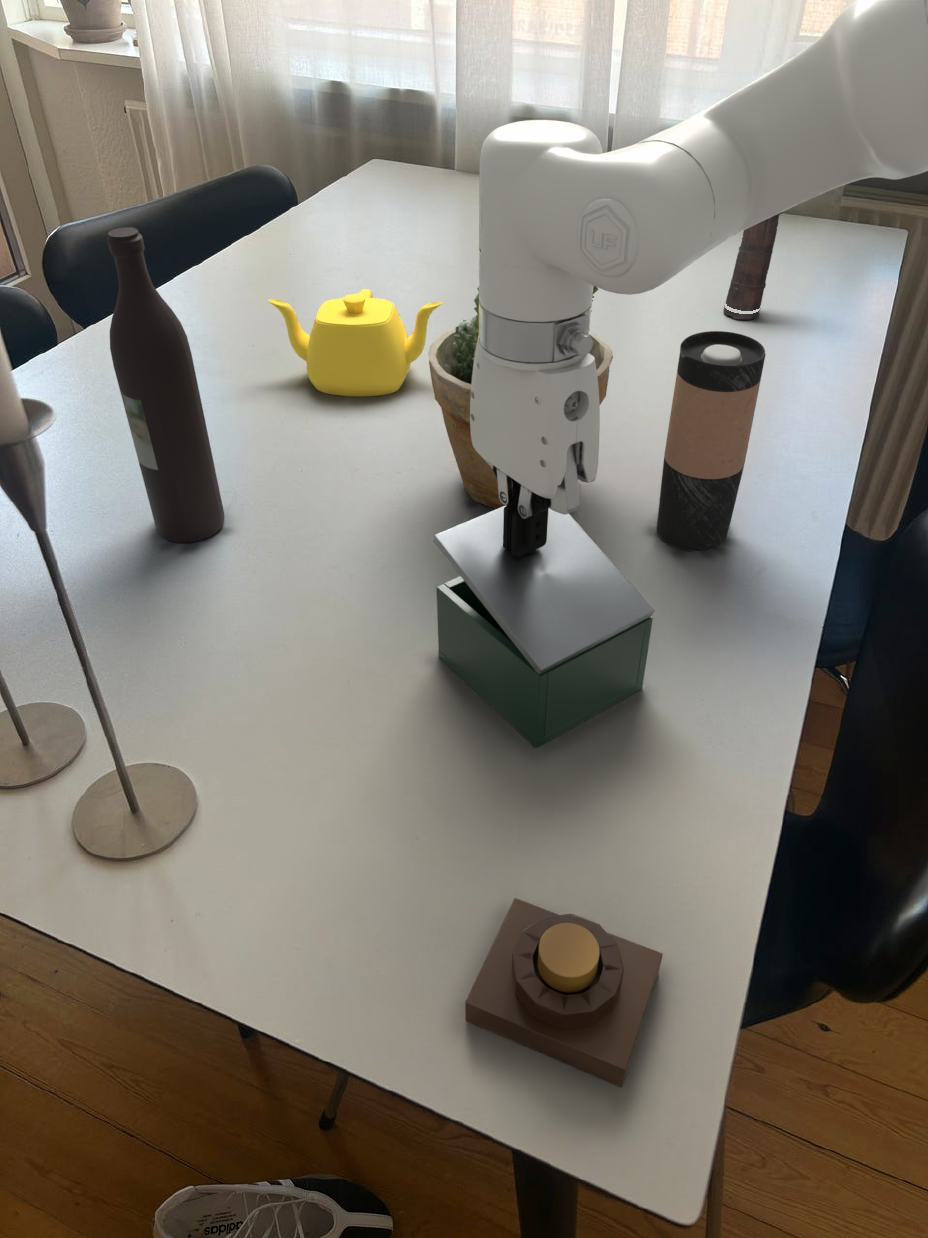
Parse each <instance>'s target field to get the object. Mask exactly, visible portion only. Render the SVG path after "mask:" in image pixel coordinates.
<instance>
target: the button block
mask: <svg viewBox="0 0 928 1238" xmlns="http://www.w3.org/2000/svg"><path fill="white" fill-rule="evenodd" d="M561 923H573V924H577V925H580V926H582V927H584V928H586V929H587V930H588V931H589V932H591V933H592V935H593V936H594V937H595V939H596V940H597V943H598V945H599V950H600V955H599V962H598V969H597V974H596V977H595V979H594V981H593V982H592V983H591V984H590V985H589V986H588V987H587V988H585V989H583V990H581V991H578V992H573V993H566V992H561V991H558V990H556V989H554V988H552V987H550V986H549V985H548V984H547V983H546V982H545V981H544V980H543V978H542V977H541V975H540V973H539V970H538V949H539V942H540V939H541V937H542V935H543V934H544V933H545V932H546V931H547V930H548V929H549V928H551V927H552V926H554V925H557V924H561ZM663 956H664V954H663V953H662V952H660V951H658V950H654V949H652V948H650V947H647V946H644V945H642V944H639V943H637V942H634V941H631V940H628V939H625V938H623V937H620V936H618V935H615V934H612V933H609V932H607V931H606V930H605V929H604V927H603V926H601V924H599V923H597V922H595V921H593V920H589V919H587V918H585V917H581V916H579V915H577V914H572V913H567V914H566V913H565V914H559V913H556V912H553V911H551V910H548V909H545V908H543V907H540V906H537V905H535V904H532V903H529V902H527V901H524V900H522V899H519V898H516V897H515V898H514V899H513V901H512V903H511V904H510V907H509V909H508V911H507V913H506V915H505V918H504V920H503V921H502V924H501V926H500V928H499V930H498V932H497V934H496V937H495V938H494V941H493V943H492V945H491V947H490V949H489V951H488V952H487V955H486V958H485V959H484V962H483V963H482V966H481V969H480V970H479V972H478V974H477V977H476V979H475V981H474V983H473V985H472V987H471V989H470V991H469V993H468V996H467V998H466V1000H465V1003H464V1006H465V1007H464V1008H465V1009H464V1010H465V1011H464V1012H465V1013H464V1014H465V1022H468V1023H470V1024H471V1025H472V1024H473V1025H475V1026H477V1027H479V1028H482V1029H484V1030H487V1031H488V1032H491V1033H494V1034H496V1035H498V1036H501V1037H503V1038H505V1039H508V1040H510V1041H512V1042H514V1043H517V1044H519V1045H521V1046H524V1047H526V1048H528V1049H531V1050H532V1051H535V1052H538V1053H540V1054H541V1055H544V1056H547V1057H549V1058H552V1059H554V1060H557V1061H559V1062H561V1063H564V1064H566V1065H567V1066H571V1067H573V1068H576V1069H578V1070H580V1071H583V1072H585V1073H587V1074H590V1075H592V1076H594V1077H597V1078H599V1079H601V1080H604V1081H606V1082H608V1083H611V1084H613V1085H615V1086H618V1087H619V1088H623V1087H624V1083H625V1080H626V1076H627V1074H628V1071H629V1068H630V1064H631V1060H632V1057H633V1055H634V1051H635V1048H636V1045H637V1042H638V1038H639V1036H640V1032H641V1030H642V1026H643V1023H644V1020H645V1017H646V1015H647V1011H648V1008H649V1005H650V1001H651V998H652V996H653V995H652V994H653V991H654V989H655V986H656V983H657V980H658V976H659V973H660V968H661V965H662V960H663Z"/></svg>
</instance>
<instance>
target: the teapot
mask: <svg viewBox="0 0 928 1238" xmlns="http://www.w3.org/2000/svg"><path fill="white" fill-rule="evenodd" d="M267 301H268V303H269V304H271V305H272V306H274V307H275V308H276V309H277V310H278V311H279V312H280V313H281V315H282V317H283V319H284V322H285V325H286V330H287V334H288V339H289V342H290V345H291V347H292V349H293V351H294V352H295V354H296V355H297V356H298V357H299V358H301V359H302V360H303V361H305V362H306V372H307V377H308V378H309V381H310V383H311V384H312V385H313V386H314V388H315V389H316V390H317V391H319V392H320V393H323V394H328V395H332V396H333V395H334V396H341V397H343V396H344V397H374V396H375V397H376V396H384V395H389V394H393V393H395V392H397V391H399V390H400V389H401V387H402V386H403V384H404V382H405V380H406V378H407V375H408V374H409V370H410V368H411V364H412V363H413V362H415V361H416V360H418V358H419V357H420V356H421V355H422V353H423V351H424V349H425V346H426V340H427V329H428V322H429V319H430V316H431V314H432V313H433V312H434V311H435V310H436V309H437V308H438V307H440V306H441V305H442V304H443V302H442V301H434V302H429V303H426V304H424V305H423V306H421V307H420V308H419V310H418V311H417V314H416V317H415V324H414V330H413V332H412V333H411V334H410V335H409V336H408V332H407V329H406V327H405V325H404V322H403V320H402V318H401V316H400V313H399V311H398V309H397V308H396V305H395V304H394V302H392V301H391V300H388V299H384V298H375V297H374V294H373V292H372V290H370V289H368V288H363V289H361V290H360V291H359V292H358V293H349V294H346V295H345V296H343V297H338V298H332V299H328V300H325V301H324V302H323V303H322V304H321V305H320V307H319V309H318V311H317V313H316V315H315V318H314V321H313V324H312V328H311V330H310V334H309V333H307V332H306V331H305V330H303V328H302V327H301V324H300V322H299V318H298V316H297V313H296V312H295V310H294V309H293V307H292V306H291V304H289V303H287V302H286V301H283V300H279V299H274V298H272V299H271V298H270V299H267Z"/></svg>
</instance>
